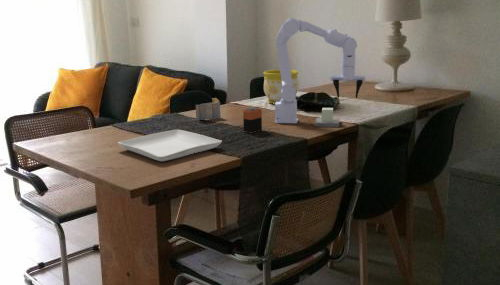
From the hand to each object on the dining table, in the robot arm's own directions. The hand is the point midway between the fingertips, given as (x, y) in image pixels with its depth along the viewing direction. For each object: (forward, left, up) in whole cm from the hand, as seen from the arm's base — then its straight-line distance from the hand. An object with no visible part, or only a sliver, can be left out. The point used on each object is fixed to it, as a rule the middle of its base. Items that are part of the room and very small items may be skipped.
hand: (347, 97), depth 220 cm
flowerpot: (-35, +42, -11) cm, 56 cm away
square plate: (-61, -55, -11) cm, 83 cm away
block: (-8, -7, -9) cm, 14 cm away
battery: (-37, -24, -11) cm, 45 cm away
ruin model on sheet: (-62, -3, -11) cm, 63 cm away
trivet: (-8, -7, -10) cm, 15 cm away
